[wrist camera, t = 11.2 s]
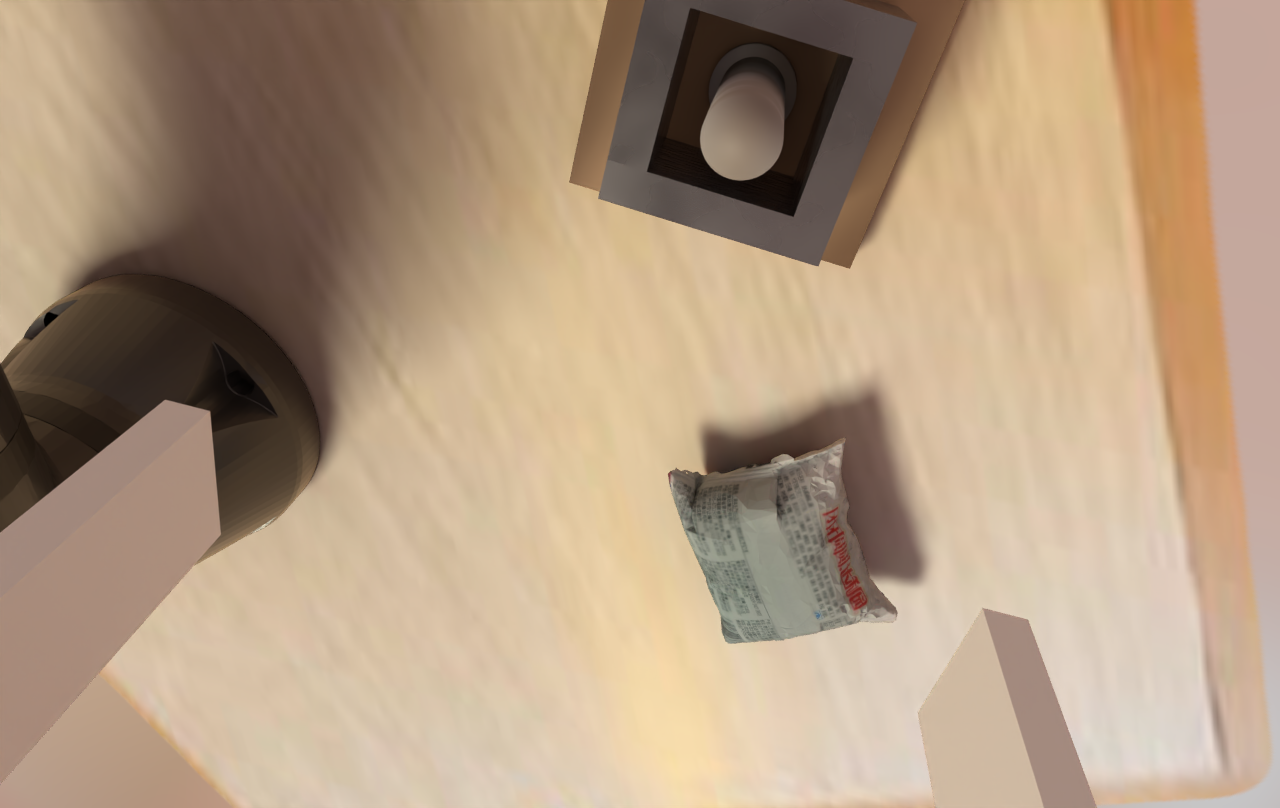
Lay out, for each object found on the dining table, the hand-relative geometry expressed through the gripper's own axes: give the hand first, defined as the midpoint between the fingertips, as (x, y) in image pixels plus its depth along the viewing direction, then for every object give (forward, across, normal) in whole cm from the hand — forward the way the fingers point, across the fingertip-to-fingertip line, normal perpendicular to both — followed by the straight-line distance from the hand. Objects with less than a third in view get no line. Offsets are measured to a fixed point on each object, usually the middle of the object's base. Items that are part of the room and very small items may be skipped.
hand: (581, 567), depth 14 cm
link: (+22, +1, +4) cm, 23 cm away
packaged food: (+24, +9, -16) cm, 30 cm away
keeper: (+23, +1, +4) cm, 24 cm away
